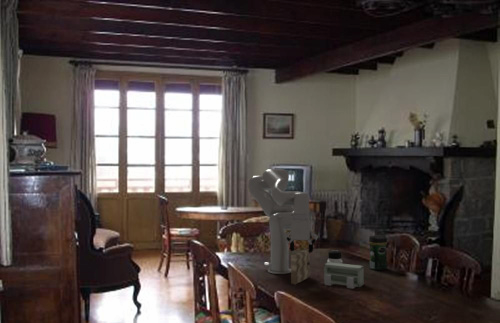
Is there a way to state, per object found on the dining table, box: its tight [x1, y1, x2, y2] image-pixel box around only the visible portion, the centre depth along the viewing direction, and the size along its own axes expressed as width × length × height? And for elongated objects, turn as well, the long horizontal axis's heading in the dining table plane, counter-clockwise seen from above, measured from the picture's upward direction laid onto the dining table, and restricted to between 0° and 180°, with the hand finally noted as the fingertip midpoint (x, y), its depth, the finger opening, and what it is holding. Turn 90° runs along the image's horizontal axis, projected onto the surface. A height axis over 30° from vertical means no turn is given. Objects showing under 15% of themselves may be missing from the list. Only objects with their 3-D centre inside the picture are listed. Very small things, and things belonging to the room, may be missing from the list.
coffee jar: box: [368, 234, 388, 271], centre depth 292 cm, size 10×8×19 cm
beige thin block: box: [290, 249, 311, 285], centre depth 264 cm, size 18×3×14 cm, turn 152°
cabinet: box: [323, 262, 365, 290], centre depth 256 cm, size 18×11×9 cm, turn 62°
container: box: [326, 250, 343, 264], centre depth 274 cm, size 8×8×13 cm
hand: (301, 251), depth 264 cm, fingers open, 9 cm apart
